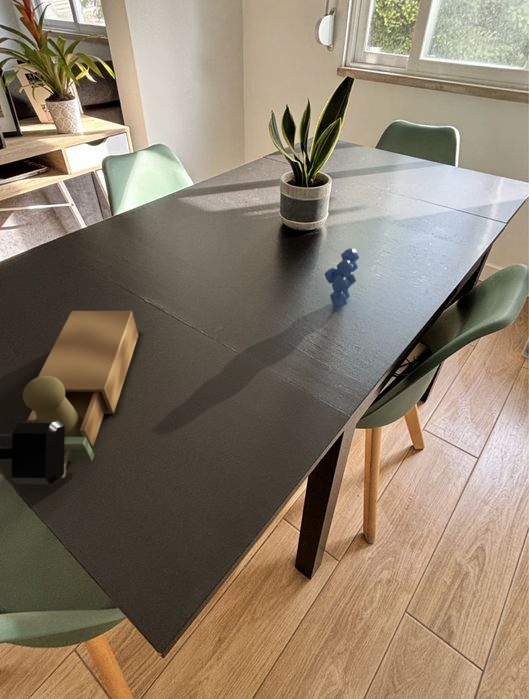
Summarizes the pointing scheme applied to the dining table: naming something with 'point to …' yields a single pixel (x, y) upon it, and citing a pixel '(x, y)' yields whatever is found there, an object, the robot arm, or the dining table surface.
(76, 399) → the drawer
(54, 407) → the olive rounded upright piece
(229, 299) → the dining table surface
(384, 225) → the dining table surface
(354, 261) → the grapes
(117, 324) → the cabinet
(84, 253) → the dining table surface
